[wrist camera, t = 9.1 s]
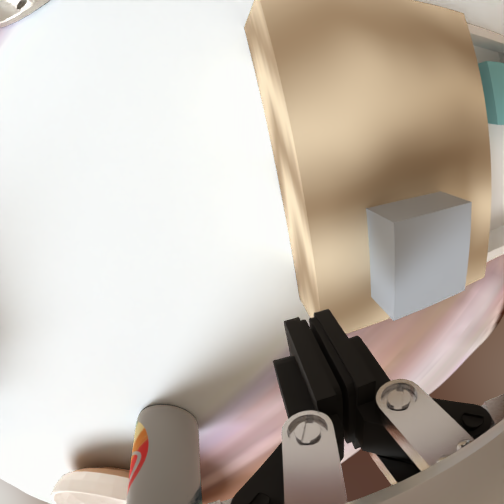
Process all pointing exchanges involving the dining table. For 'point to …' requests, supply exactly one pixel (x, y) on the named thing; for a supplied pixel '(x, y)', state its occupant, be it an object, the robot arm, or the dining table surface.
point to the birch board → (367, 131)
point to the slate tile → (418, 251)
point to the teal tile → (493, 90)
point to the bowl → (92, 486)
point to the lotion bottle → (165, 458)
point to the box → (493, 140)
